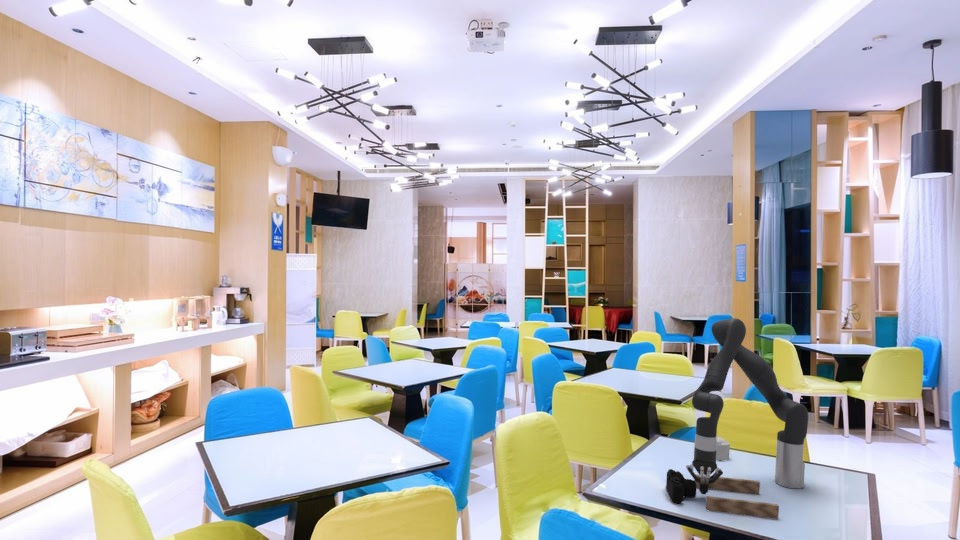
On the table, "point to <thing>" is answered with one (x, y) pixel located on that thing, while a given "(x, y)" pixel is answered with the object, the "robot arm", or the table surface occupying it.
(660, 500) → the table surface
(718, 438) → the lumpy-topped squat cylinder
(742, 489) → the walnut chute
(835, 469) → the table surface
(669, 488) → the film camera
